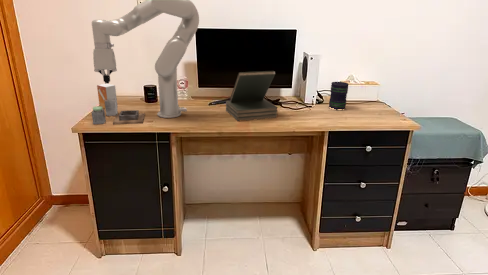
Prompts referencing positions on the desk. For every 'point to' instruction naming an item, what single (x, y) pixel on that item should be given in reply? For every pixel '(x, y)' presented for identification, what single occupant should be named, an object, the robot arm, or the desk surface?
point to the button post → (98, 117)
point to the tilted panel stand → (251, 96)
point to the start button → (97, 108)
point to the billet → (111, 107)
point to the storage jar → (338, 95)
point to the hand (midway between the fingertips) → (107, 82)
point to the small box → (106, 93)
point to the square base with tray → (129, 117)
